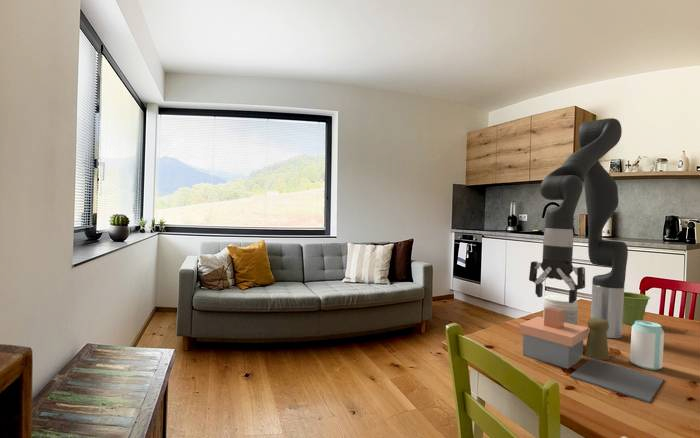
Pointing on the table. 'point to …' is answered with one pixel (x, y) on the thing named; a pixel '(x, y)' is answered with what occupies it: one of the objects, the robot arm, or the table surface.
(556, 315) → the lid
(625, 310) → the plant pot
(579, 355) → the storage box
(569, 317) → the supplement tub
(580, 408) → the table surface
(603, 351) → the pepper mill
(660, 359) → the can
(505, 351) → the table surface
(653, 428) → the table surface
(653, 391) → the mat
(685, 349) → the table surface
